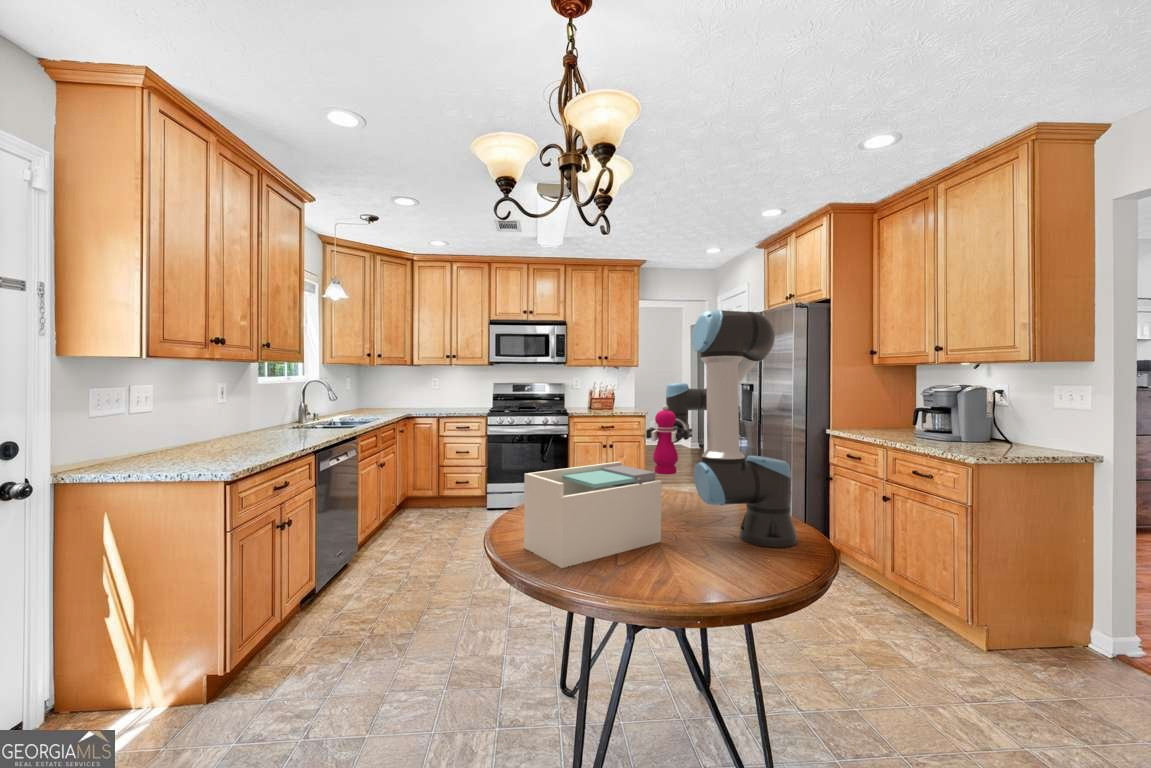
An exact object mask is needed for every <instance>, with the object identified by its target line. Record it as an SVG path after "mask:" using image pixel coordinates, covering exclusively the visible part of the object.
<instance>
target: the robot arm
mask: <svg viewBox="0 0 1151 768" xmlns="http://www.w3.org/2000/svg"><path fill="white" fill-rule="evenodd" d="M775 337H776V335H775V329H774V327H773V324H772V323H771V321H770V320H769V318H767V317H766V316H765V315H763V314H762V313H759V312H755V311H736V310H722V309H718V310H708V311H707V310H706V311H704V312H702V313H701V314H700V315H699V316H698V317H697V320H696V321H695V324H694V326H693V331H692V337H691V338H692V340H691V341H692V345H693V350H694V351H695V352H697V353H699V354H700V360H701V361H702V362H703V363H704V364H705V366H706V367H705V370H706V371H705V372H706V374H705V375H706V376H705V377H706V382H705V383H706V387H705V388H690V387H689V385H688V383H686V382H685V383H684V382H683V383H680V382H678V383H673V382H670V383H668V384H667V385H666V390H665V391H666V392H665V400H666V401H665V405H667V406H668V411H671V412H673V413H674V414H675V417H676V422H675V424H674V425H673V427H674V431H673V432H672V442H673V443H674V444H675V443H678V442H680V441H681V440H682V439H683V440H685V441H687V440H689V438H692V437H693V429H692V428H690V424H689V411H706V450H705V451H704V452H703V453H702V454H701V461H699V462H697V463H696V464H695V465H694V470H693V481H694V486H695V488H696V489H695V490H696V492H697V493H698V496H699V497H700V499H701V500H702V501H703V502H704V503H705V504H707V505H710V506H711V505H713V506H726V505H746V510H745V513H744V516H743V518H742V521H741V525H740V528H739V537H740V538H741V540H743V541H744V542H747V543H750V544H753V545H755V546H756V545H757V546H761V547H768V548H788V547H792V546H794V545H796V544H797V532H796V528H795V525H794V522H793V519H792V516H791V482H792V481H791V480H792V474H791V473H792V472H791V466H790V464H789V463H788V462H787V461H785V460H781V459H779V458H777V459H776V458H772V457H767V456H759V455H748V456H747V457H745V455H744V454H743V453H742V452H741V450H740V430H739V429H740V427H739V425H740V424H739V423H740V422H739V421H740V419H739V417H740V416H739V415H740V414H739V384H740V383H741V381H742V380H743V379H744V378H745V377H746V375H748V374H749V372H750V371H751V370H752V369H753V367H754V366H755V365H756V364H757V363H758V362H762V361H763V360H765V358H766V357H767V356H768V355H769V354H770V353H771V351H772V349H773V347H774V345H775ZM645 433H646V434H645V436H646V439H651V442H656V441H658V437H659V435H658V432H657V427H656V428H655V427H652V426H651V427H649V428H647V429H646V431H645Z"/></svg>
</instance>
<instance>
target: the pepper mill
mask: <svg viewBox="0 0 1151 768" xmlns="http://www.w3.org/2000/svg"><path fill="white" fill-rule="evenodd" d="M654 419H655V420H654V421H655V423H656V425H657V426H656V430H657V432H658V435H659V437H658V439H657V443H656V445H655V448H654V451H653V456H652V459H653V462H654V463H655V464H656V465H655V466H654V472H655V474H658V475H676V474H677V466H676V464H677V462H678V460H679V456H678V452H677V448H676V446H675V443H673V442H672V432H673V431H674V427H673V425H674V424H675V422H676V417H675V414H674V413H673V412H671V411H668V406H667V405H666V404H664V405H663V406H662V410H659V411H658V412H657V413H656V414H655V418H654Z"/></svg>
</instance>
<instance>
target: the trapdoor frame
mask: <svg viewBox="0 0 1151 768" xmlns="http://www.w3.org/2000/svg"><path fill="white" fill-rule="evenodd" d="M620 465H623V462H622V461H613V462H607V463H606V462H605V463H604V462H603V463H599V464H598V463H597V464H591V465H589V464H588V465H581V466H575V467H567V468H558V469H557V468H556V469H550V470H549V469H548V470H543V471H542V470H541V471H535V472H528V473H527V472H526V473H524V487H523V489H524V490H523V492H524V493H523V494H524V495H523V496H524V497H523V498H524V499H523V500H524V501H523V503H524V505H523V506H524V508H523V509H524V510H523V512H524V513H523V516H524V517H523V519H524V520H523V521H524V522H523V533H524V534H523V548H524V549H525V550H527V551H528V550H529V551H528V552H530V551H531V553H532V552H533V554H534V555H536V556H537V557H540V558H542V559H544V560H545V559H546V560H545V561H547V562H549V563H551V564H553V565H555V566H557V567H558V568H560V569H565V568H568V566H569V567H571V566H572V565H573V566H576V565H580V564H583V562H584V563H586V562H587V563H588V562H590V561H595V560H599V559H602V558H605V557H609V556H613V555H617V554H621V553H623V552H625V553H626V552H627V551H631V550H632V551H633V550H635V549H638V548H639V549H640V548H642V547H646V546H649V545H653V544H657V543H660V542H662V540H661V539H662V538H661V537H662V534H661V533H662V480H659V479H658V480H655V481H651V482H645V483H643V479H642V478H638V479H637V483H638V484H633V485H626V486H620V487H615V486H611V485H610V486H604V487H598V488H592V487H589V486H585V485H582V484H578V483H575V482H571V481H568V480H564V479H563V475H570V474H577V473H585V472H592V471H600V470H602V468H605V467H612V466H620Z"/></svg>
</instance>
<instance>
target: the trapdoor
mask: <svg viewBox="0 0 1151 768" xmlns="http://www.w3.org/2000/svg"><path fill="white" fill-rule="evenodd" d="M638 478H642V479H643V483H645V482H651V481H656V473H655V471H650V470H645V469H641V468H636V467H632V466H626V465H624V464H622V465H620V466H612V467H605V468H602V470H600V471H592V472H585V473H577V474H570V475H563V479H564V480H568V481H571V482H575V483H578V484H582V485H585V486H589V487H592V488H598V487H604V486H610V485H611V486H615V487H620V486H626V485H633V484H638V483H637V479H638Z"/></svg>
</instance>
